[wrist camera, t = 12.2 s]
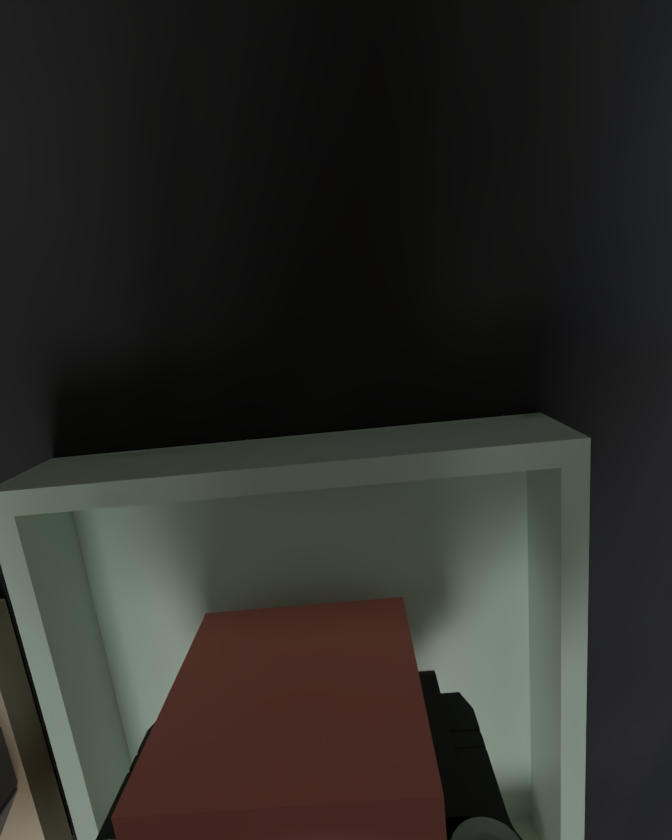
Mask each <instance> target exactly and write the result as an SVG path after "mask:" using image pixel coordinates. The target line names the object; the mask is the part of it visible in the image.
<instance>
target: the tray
mask: <svg viewBox="0 0 672 840" xmlns="http://www.w3.org/2000/svg"><path fill="white" fill-rule="evenodd" d="M590 450H591V438H590V437H588V436H586V435H584V434H582V433H580V432H578V431H576V430H574V429H572V428H570V427H568V426H566V425H564V424H562V423H560V422H558V421H556V420H554V419H552V418H550V417H548V416H546V415H544V414H542V413H530V414H519V415H509V416H498V417H487V418H477V419H466V420H455V421H445V422H434V423H423V424H413V425H402V426H391V427H381V428H370V429H359V430H349V431H338V432H327V433H317V434H306V435H295V436H284V437H274V438H263V439H252V440H242V441H231V442H220V443H210V444H199V445H188V446H178V447H167V448H156V449H146V450H135V451H124V452H114V453H103V454H92V455H82V456H71V457H60V458H52V459H50V460H48V461H46V462H43V463H41V464H39V465H37V466H35V467H33V468H31V469H29V470H27V471H25V472H23V473H21V474H19V475H17V476H15V477H13V478H11V479H9V480H7V481H5V482H3V483H1V484H0V564H1V567H2V571H3V574H4V578H5V582H6V585H7V589H8V592H9V596H10V599H11V603H12V607H13V610H14V614H15V617H16V621H17V625H18V628H19V632H20V635H21V639H22V642H23V646H24V650H25V653H26V657H27V660H28V664H29V667H30V671H31V675H32V678H33V682H34V685H35V689H36V692H37V696H38V700H39V703H40V707H41V710H42V714H43V717H44V721H45V725H46V728H47V732H48V735H49V739H50V742H51V746H52V750H53V753H54V757H55V760H56V764H57V768H58V771H59V775H60V778H61V782H62V785H63V789H64V793H65V796H66V800H67V803H68V807H69V810H70V814H71V818H72V821H73V825H74V828H75V832H76V835H77V839H78V840H96V838H97V836H98V834H99V832H100V830H101V827H102V825H103V823H104V821H105V819H106V817H107V815H108V813H109V811H110V808H111V806H112V804H113V802H114V800H115V798H116V796H117V794H118V791H119V789H120V787H121V785H122V783H123V781H124V779H125V777H126V775H127V773H129V768H130V766H131V764H132V762H133V760H134V758H135V756H136V755H137V753H138V749H139V747H140V745H141V743H142V741H143V739H144V737H145V734H146V732H147V730H148V729H149V728H150V727H151V726H152V725H153V724H154V723H155V722H156V720H157V717H158V715H159V713H160V711H161V709H162V707H163V704H164V702H165V700H166V698H167V696H168V694H169V691H170V689H171V687H172V685H173V683H174V681H175V679H176V676H177V674H178V672H179V670H180V668H181V666H182V663H183V661H184V659H185V657H186V655H187V653H188V651H189V648H190V646H191V644H192V642H193V640H194V638H195V635H196V633H197V631H198V629H199V627H200V625H201V622H202V620H203V618H204V616H205V614H206V613H214V612H226V611H239V610H251V609H263V608H275V607H287V606H299V605H311V604H323V603H335V602H347V601H360V600H372V599H384V598H396V597H403V599H404V604H405V609H406V614H407V619H408V624H409V629H410V633H411V638H412V643H413V648H414V653H415V658H416V663H417V668H418V671H429V670H434V671H435V673H436V677H437V681H438V685H439V689H440V693H452V692H460V693H461V695H462V696H463V697H464V698H465V699H466V701H467V702H468V703H469V704H470V705H471V706H472V708H473V709H474V712H475V715H476V718H477V721H478V724H479V728H480V732H481V734H482V737H483V740H484V743H485V747H486V750H487V752H488V755H489V758H490V761H491V765H492V768H493V771H494V774H495V777H496V780H497V783H498V786H499V789H500V792H501V795H502V798H503V802H504V805H505V808H506V811H507V814H508V817H509V819H510V822H511V823H512V825H513V827H514V829H515V830H516V832H517V833H518V834H519V836H520V837H521V838H522V839H523V840H584V822H585V760H586V698H587V636H588V574H589V512H590Z"/></svg>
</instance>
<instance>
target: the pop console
mask: <svg viewBox="0 0 672 840" xmlns="http://www.w3.org/2000/svg"><path fill="white" fill-rule="evenodd" d="M71 839H72V835H71V831H70V827H69V824H68V820H67V817H66V813H65V810H64V806H63V803H62V799H61V796H60V792H59V788H58V785H57V781H56V778H55V774H54V771H53V767H52V764H51V760H50V757H49V753H48V750H47V746H46V742H45V739H44V735H43V732H42V728H41V725H40V721H39V718H38V714H37V711H36V707H35V704H34V700H33V696H32V693H31V689H30V686H29V682H28V679H27V675H26V672H25V668H24V665H23V661H22V657H21V654H20V650H19V647H18V643H17V640H16V636H15V633H14V629H13V626H12V622H11V619H10V615H9V611H8V608H7V604H6V601H5V599H0V840H71Z"/></svg>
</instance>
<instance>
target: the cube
mask: <svg viewBox="0 0 672 840" xmlns="http://www.w3.org/2000/svg"><path fill="white" fill-rule="evenodd" d="M111 820H112V824H113V828H114V832H115V836H116V839H117V840H447V835H446V820H445V805H444V794H443V790H442V785H441V780H440V775H439V770H438V765H437V760H436V755H435V751H434V746H433V741H432V736H431V731H430V726H429V721H428V716H427V712H426V707H425V702H424V697H423V692H422V687H421V682H420V677H419V672H418V668H417V663H416V658H415V653H414V648H413V643H412V638H411V633H410V629H409V624H408V619H407V614H406V609H405V604H404V599H403V597H396V598H384V599H372V600H360V601H347V602H335V603H323V604H311V605H299V606H287V607H275V608H263V609H251V610H239V611H226V612H214V613H206V614H205V616H204V618H203V620H202V622H201V625H200V627H199V629H198V631H197V633H196V635H195V638H194V640H193V642H192V644H191V646H190V648H189V651H188V653H187V655H186V657H185V659H184V661H183V663H182V666H181V668H180V670H179V672H178V674H177V676H176V679H175V681H174V683H173V685H172V687H171V689H170V691H169V694H168V696H167V698H166V700H165V702H164V704H163V707H162V709H161V711H160V713H159V715H158V717H157V720H156V722H155V724H154V726H153V728H152V730H151V732H150V735H149V737H148V739H147V741H146V743H145V745H144V748H143V750H142V752H141V754H140V756H139V758H138V761H137V763H136V765H135V767H134V769H133V771H132V773H131V776H130V778H129V780H128V782H127V784H126V786H125V789H124V791H123V793H122V795H121V797H120V799H119V801H118V804H117V806H116V808H115V810H114V812H113V814H112V817H111Z"/></svg>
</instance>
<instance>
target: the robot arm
mask: <svg viewBox="0 0 672 840" xmlns="http://www.w3.org/2000/svg"><path fill="white" fill-rule="evenodd" d="M418 672H419V677H420V682H421V687H422V692H423V697H424V702H425V707H426V712H427V716H428V721H429V726H430V731H431V736H432V741H433V746H434V751H435V755H436V760H437V765H438V770H439V775H440V780H441V785H442V790H443V794H444V805H445V820H446V835H447V840H523V839H522V838H521V837H520V836H519V834H518V833H517V832H516V830H515V829H514V827H513V825H512V823H511V822H510V819H509V817H508V814H507V811H506V808H505V805H504V802H503V798H502V795H501V792H500V789H499V786H498V783H497V780H496V777H495V774H494V771H493V768H492V765H491V761H490V758H489V755H488V752H487V750H486V747H485V743H484V740H483V737H482V734H481V732H480V728H479V724H478V721H477V718H476V715H475V712H474V709H473V708H472V706H471V705H470V704H469V703H468V702H467V701H466V699H465V698H464V697H463V696H462V695H461V693H460V692H452V693H440V689H439V685H438V681H437V677H436V673H435V671H434V670H429V671H418ZM154 724H155V723H154ZM154 724H153V725H152V726H151V727H150V728H149V729H148V730H147V732H146V734H145V737H144V739H143V741H142V743H141V745H140V747H139V749H138V753H137V755H136V756H135V758H134V760H133V762H132V764H131V766H130V768H129V773H127V775H126V777H125V779H124V781H123V783H122V785H121V787H120V789H119V791H118V794H117V796H116V798H115V800H114V802H113V804H112V806H111V808H110V811H109V813H108V815H107V817H106V819H105V821H104V823H103V825H102V827H101V830H100V832H99V834H98V836H97V838H96V840H117V839H116V836H115V832H114V828H113V824H112V820H111V817H112V814H113V812H114V810H115V808H116V806H117V804H118V801H119V799H120V797H121V795H122V793H123V791H124V789H125V786H126V784H127V782H128V780H129V778H130V776H131V773H132V771H133V769H134V767H135V765H136V763H137V761H138V758H139V756H140V754H141V752H142V750H143V748H144V745H145V743H146V741H147V739H148V737H149V735H150V732H151V730H152V728H153V726H154Z"/></svg>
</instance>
